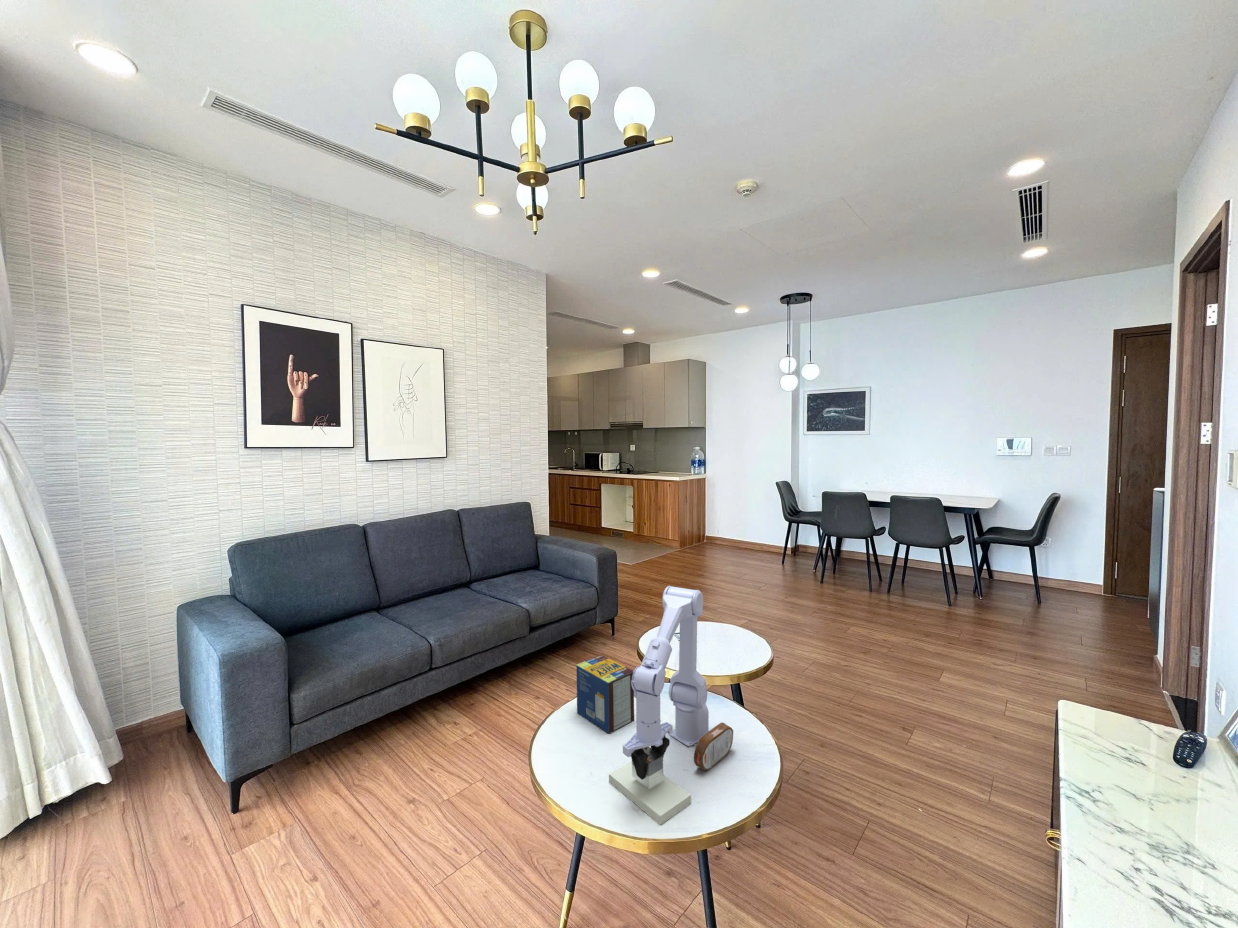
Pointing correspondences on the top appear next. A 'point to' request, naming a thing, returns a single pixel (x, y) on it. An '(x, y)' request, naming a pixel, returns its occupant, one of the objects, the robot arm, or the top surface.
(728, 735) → the tin
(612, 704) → the protein box
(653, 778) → the housing
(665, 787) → the sage stand
